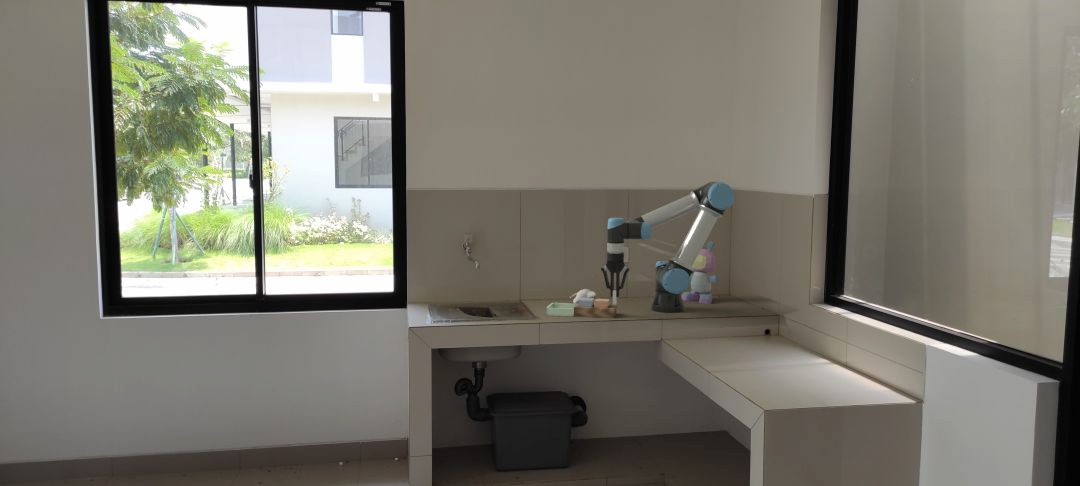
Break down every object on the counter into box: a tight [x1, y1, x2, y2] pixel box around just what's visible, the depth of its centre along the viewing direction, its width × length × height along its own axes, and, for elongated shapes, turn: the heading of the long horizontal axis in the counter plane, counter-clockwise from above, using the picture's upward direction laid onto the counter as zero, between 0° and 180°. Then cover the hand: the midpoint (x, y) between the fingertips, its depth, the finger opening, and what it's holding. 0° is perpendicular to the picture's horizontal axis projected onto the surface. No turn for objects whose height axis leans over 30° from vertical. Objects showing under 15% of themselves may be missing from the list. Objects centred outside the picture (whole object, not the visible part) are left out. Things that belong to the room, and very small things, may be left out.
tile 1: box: [579, 298, 594, 307], centre depth 357 cm, size 6×6×3 cm
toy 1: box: [569, 288, 597, 304], centre depth 376 cm, size 13×9×15 cm
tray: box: [545, 302, 577, 318], centre depth 360 cm, size 12×13×4 cm
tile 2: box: [594, 298, 610, 308], centre depth 356 cm, size 6×6×3 cm
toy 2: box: [681, 241, 720, 305], centre depth 390 cm, size 18×11×30 cm, turn 43°
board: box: [573, 303, 618, 319], centre depth 357 cm, size 18×10×4 cm, turn 76°
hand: (614, 304), depth 354 cm, fingers closed
